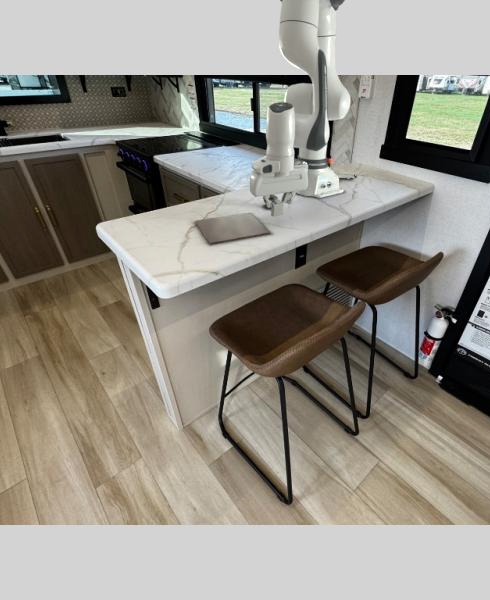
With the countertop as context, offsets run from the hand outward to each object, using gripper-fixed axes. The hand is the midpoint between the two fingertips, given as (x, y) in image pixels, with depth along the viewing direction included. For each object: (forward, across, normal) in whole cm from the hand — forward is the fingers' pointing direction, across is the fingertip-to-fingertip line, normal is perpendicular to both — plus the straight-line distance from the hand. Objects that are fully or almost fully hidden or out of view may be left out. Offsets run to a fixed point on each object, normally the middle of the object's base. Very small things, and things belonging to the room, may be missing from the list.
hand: (279, 205), depth 109 cm
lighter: (+4, 0, 0) cm, 4 cm away
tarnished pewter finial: (+6, -2, -13) cm, 14 cm away
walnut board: (+5, +18, 0) cm, 18 cm away
